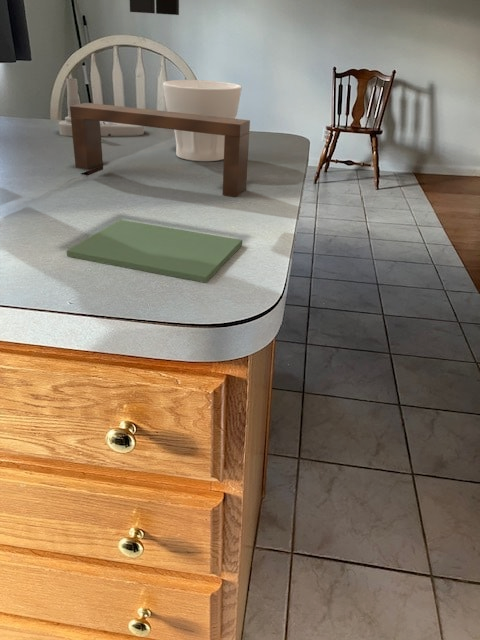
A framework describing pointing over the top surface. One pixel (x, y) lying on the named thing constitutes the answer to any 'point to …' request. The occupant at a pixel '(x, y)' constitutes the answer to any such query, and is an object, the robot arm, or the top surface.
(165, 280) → the top surface
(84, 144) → the brown wooden arch
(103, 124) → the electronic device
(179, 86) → the cup
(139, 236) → the mat
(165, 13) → the robot arm
